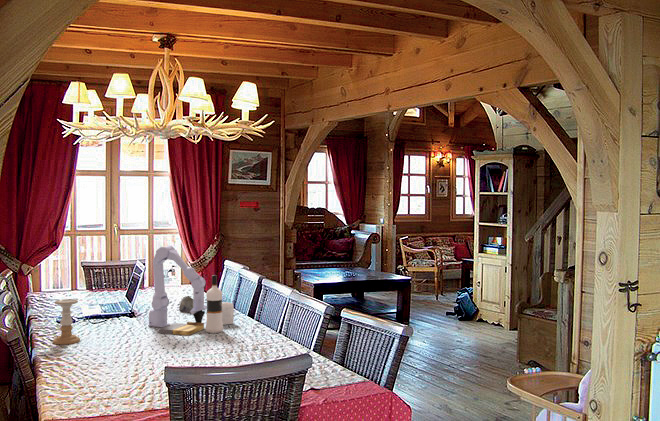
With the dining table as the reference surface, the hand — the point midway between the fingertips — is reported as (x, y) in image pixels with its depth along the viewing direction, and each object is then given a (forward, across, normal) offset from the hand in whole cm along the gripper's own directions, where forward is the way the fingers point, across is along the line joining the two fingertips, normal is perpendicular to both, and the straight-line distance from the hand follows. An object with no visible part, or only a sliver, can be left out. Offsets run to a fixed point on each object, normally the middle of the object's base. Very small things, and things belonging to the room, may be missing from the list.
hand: (198, 324), depth 341 cm
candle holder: (+2, -50, +45) cm, 67 cm away
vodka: (+2, -7, -13) cm, 15 cm away
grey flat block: (+1, -11, +9) cm, 14 cm away
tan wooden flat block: (+1, -11, 0) cm, 11 cm away
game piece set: (+2, -43, -48) cm, 64 cm away
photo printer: (+2, +11, -10) cm, 15 cm away
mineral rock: (+2, +36, +26) cm, 45 cm away
